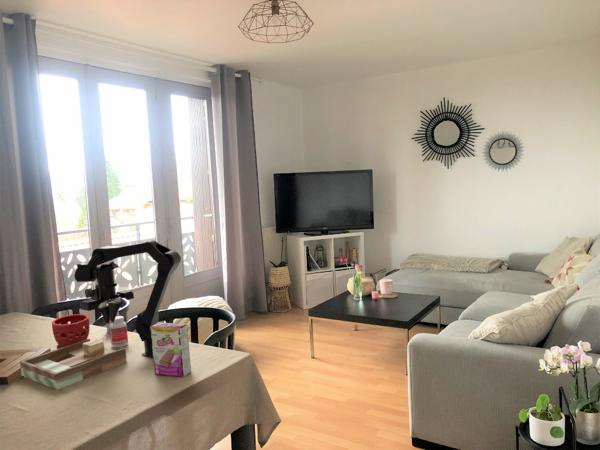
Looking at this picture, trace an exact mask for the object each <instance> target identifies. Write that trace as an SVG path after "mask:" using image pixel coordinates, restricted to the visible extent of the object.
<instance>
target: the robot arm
mask: <svg viewBox="0 0 600 450" xmlns="http://www.w3.org/2000/svg"><path fill="white" fill-rule="evenodd" d="M146 253H147V255H149V256H150V257H151V258H152V260H153V261H155V262H156V263H157V267H156V268H157V277H156V279H155V283H154V285H153V288H152V291H151V293H150V296H149V299H148V302H147V305H146V308H145V309H144V310H142V311H141V312H139V313H138V314H137V316H136V321H135V322H134V324H133V325H135V326H134V331H136V334H138V336H139V338H140V340H141V342H143V345H144V352H143V353H141V355H142V356H145V357H148V358H152V359H153V350H152V340H151V330H150V327H151V326H152V325H154V324H156V323H158V322H159V318H160V317H159V310H160V307H161V304H162V302H163V299H164V296H165V293H166V290H167V288H168V285H169V282H170V279H171V277H172V275H173V274H174V273H175V271H176V270H177V269H178V267H179V265H180V263H181V260H182V259H181V257H182V256H180V253H179V252H177V251H176V250H172V249H171V248H169V247H167V246H165V245H163V244H162V243H161V244H160V243H159V242H157V241H156V240H155V239H151V240H148V241H144V242H138V243H134V244H133V243H131V244H127V245H126V244H125V245H121V246H119V245H118V246H116V245H105V246H101V247H98V248H95V249H93V251H92V252H91V258H90V259H89V261H88V263H85V262H84V263H83V262H81V263H77V264H76V268H75V271H74V279H75V281H76V282H77V283H90V282H91V283H93V282H95V281H96V282H97V283H96V284H95V288H94V289H92V288H91V287H89V288H86V289H85V290H84V295H85V298H86V299H84V300H82V301H81V302H80V304H79V308H80V310H82V311H88V312H89V311H90V312H91V311H95V310H98V311H99V312H100V314H101V315H102V317H103V319H104V321H105V323H107V324H109V321H110V318H111V322H114V320H115V318H116V315H117V312H118V310H119V309H120V308H121V305H123V304H124V302H123V301H122V300H123V299H126V300H127V301H129V300H133V299H135V294H134V292H133V291H132V290H127V289H124V290H123V289H122V290H120V291H117V292H116V287H117V285H118V283H117V282H115V277H114V275H115V274H114V270H115V269H117V268H119V265H118V264H117V263H115V262H114V261H113V260H116V259H118V258H123V257H128V256H135V255H140V254H146ZM108 262H109V263H108ZM89 298H90V299H89ZM121 299H122V300H121ZM107 303H108V305H109V306H107ZM109 307H110V310H109ZM107 324H106V325H107Z"/></svg>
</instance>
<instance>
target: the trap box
mask: <svg viewBox="0 0 600 450" xmlns="http://www.w3.org/2000/svg"><path fill="white" fill-rule="evenodd" d="M89 341H91V339H90V338H87V340H84V341H81V342H78V343H75V344H72V345H69V346H66V347H63V348H60V349H57V348H56V349H55V350H54V349H53V350H51V351H48V352H45V353H42V354H40V355H36V356H33V357H30V358H27V359H24V360H21V361H19V364H20V365H19V366H20V371H21V372H20V373H21V376H22V377H23V376H24V378H25V379H28V378H29V380H31V381H33V382H36V383H38V382H39V384H41V385H44V386H46V387H48V388H51V389H54V390H56V391H58V390H61V389H63V388H66V387H69V386H70V385H74V384H76V383H79V382H81V381H83V380H86V379H89V378H90V377H94V376H97V375H98V374H101V373H103V372H106V371H108V370H110V369H113V368H116V367H118V366H121V365H123V364H126V363H128V362H127V361H128V360H127V352H126V348H125V347H121V348H120V349H118V350H113V349H109V348H105V347H104V351H105V352H104V353H101V354H98V355H96V356H93V357H90V356H87V355H84V352H83V343H86V342H89Z"/></svg>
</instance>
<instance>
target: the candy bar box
mask: <svg viewBox="0 0 600 450" xmlns="http://www.w3.org/2000/svg"><path fill="white" fill-rule="evenodd" d="M150 330H151V340H152V350H153V358H152V360H153V369H154V375H155V376H156V375H157V376H166V377H175V378H176V377H177V378H185V377H186V376H187V375H188V374H190V373H191V372H192V365H191V354H190V343H189V341H190V340H189V333H188V330H189V329H188V324H187V323H176V322H175V323H174V322H161V321H160V322H159V321H158V323H156V324H154V325H152V326H151V327H150Z"/></svg>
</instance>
